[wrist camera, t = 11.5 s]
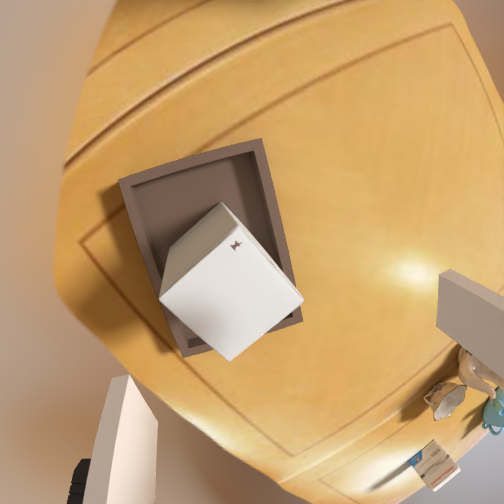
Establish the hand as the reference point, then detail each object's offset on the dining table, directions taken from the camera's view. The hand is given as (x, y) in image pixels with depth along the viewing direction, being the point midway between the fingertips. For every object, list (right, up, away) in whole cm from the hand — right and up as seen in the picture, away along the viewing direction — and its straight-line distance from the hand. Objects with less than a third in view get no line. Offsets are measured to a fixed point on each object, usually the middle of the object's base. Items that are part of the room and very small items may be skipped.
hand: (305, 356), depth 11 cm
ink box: (+41, -46, +45) cm, 77 cm away
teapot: (+68, -37, +48) cm, 91 cm away
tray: (-6, +4, +22) cm, 23 cm away
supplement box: (-6, +4, +21) cm, 22 cm away
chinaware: (+42, -18, +38) cm, 59 cm away
